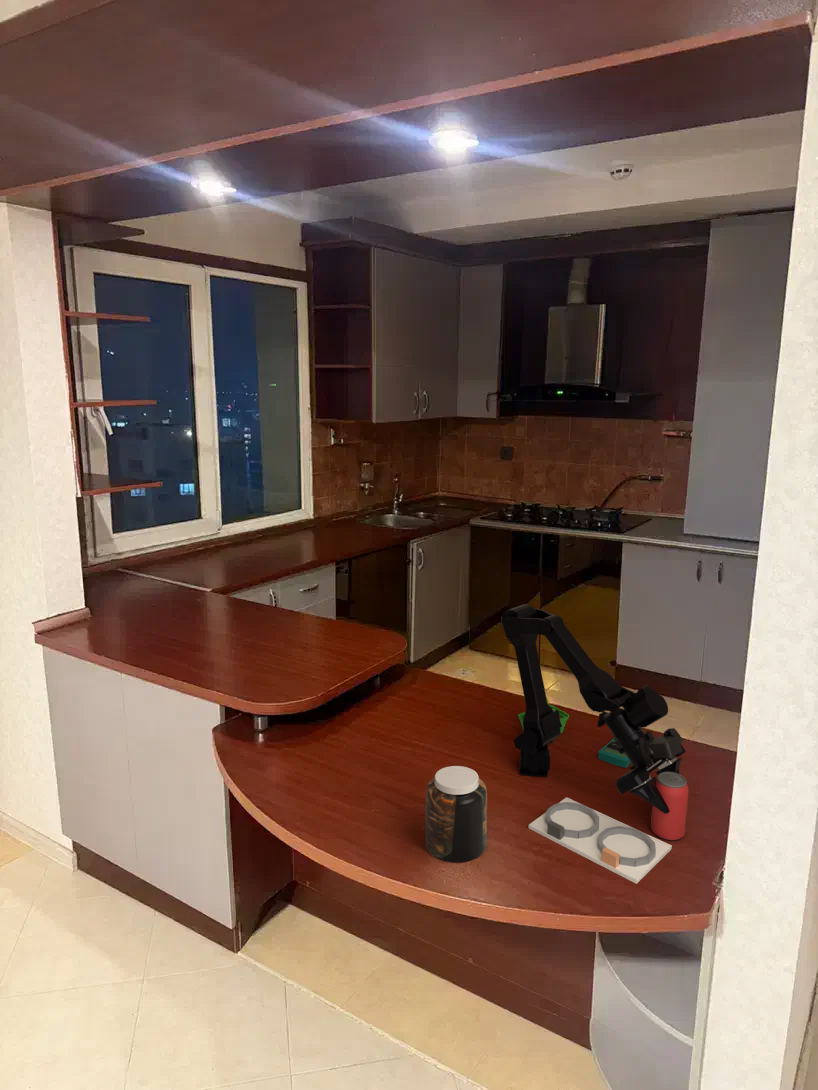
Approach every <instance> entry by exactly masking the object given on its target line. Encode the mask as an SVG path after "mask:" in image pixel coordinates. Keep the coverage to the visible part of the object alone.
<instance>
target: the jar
mask: <svg viewBox="0 0 818 1090" xmlns="http://www.w3.org/2000/svg"><path fill="white" fill-rule="evenodd" d="M434 774H435V775H434V777H433V778H432V779H430V781H429V782H428V783H427V786H426V791H425V848H426V850H427V851H428V852H429V854H430V855H431V856H432V857H434V858H435V859H438V860H440V861H443V862H446V863H447V862H449V863H456V864H457V863H460V864H461V863H466V862H471V861H473V860H476V859H478V858H479V857H480V856H482V855H483V854H484V852H485V851H486V847H487V833H488V831H487V829H488V791H487V785H486V784H485V782H484V781H483V780H482V779H481V778H479V775H478V773H477V772H476V771H475V770H474V769H472V768H469V767H467V766H462V765H452V766H445V767H443V768H441V769H439V770H437V772H436V773H434Z"/></svg>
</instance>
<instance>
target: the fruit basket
mask: <svg viewBox="0 0 818 1090" xmlns="http://www.w3.org/2000/svg"><path fill="white" fill-rule="evenodd" d="M546 698H547V703H548V705H549V706H550V707H551V708H552V709H553V710H558V711H559V718H560V722H561V724H562V727H561V728H560V729H561V731H560V734H562V733H563V732H564V729H565V726H566V724H567V721H568V720H569V717H570V714H568V713H567V712H565V711H564V710H561V709H559V708H558V707H556V706H554V705H553V704H550V700H549V698H548V697H547V696H546ZM524 715H525V711H524V712H520V713H519V714H518V715H517V716H518V719H519V720H520V724H521V729H522V730H523V719H524Z"/></svg>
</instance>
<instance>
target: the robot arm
mask: <svg viewBox="0 0 818 1090" xmlns="http://www.w3.org/2000/svg"><path fill="white" fill-rule="evenodd" d="M500 620H501V625H502V626H501V627H502V628H503V631H504V635H505V637H506V639H507V640H508V641H509V642H510V643H511V645H512V646H513V647H514V651H515V656H516V661H517V662H516V663H517V667H518V671H519V677H520V678H519V679H520V683H521V687H522V692H523V696H524V702H525V711H524V712H525V715H524V719H523V729H522V731H523V732H522V733H521V734H520V735H518V736H516V737H515V738H513V744H514V748H515V749H517V750H519V751H520V755H519V757H520V758H519V763H518V764H519V766H518V767H519V768H518V774H519V775H520V776H527V777H528V776H529V777H539V778H540V777H542V778H547V777H548V772H549V771H550V768H551V750H550V749H549V744H553V742H554V741H555V739H557V738H558V737H559V736H560V734H561V733H560V731H561V729H560V728H561V727H562V724H561V722H560V718H559V711H558V710H553V709H552V708H551V707H550V706H549V705H550V704H549V705H548V703H547V698H548V697H547V694H546V689H545V683H544V679H543V674H542V668H541V664H540V663H541V662H540V657H539V652H538V648H537V639H538V635H539V636H544V637H545V638H546V639H547V641H548V642H549V644H550V645H551V646H552V648H553V649H554V650H555V652H556V653H557V654H558V656H559V657H560V659H561V660H562V661H563V662H564V664H565V665H566V666H567V668H568V669H569V670H570V672H571V673H572V674H573V675H574V677H575V680H576V681H577V684H578V689H579V693H580V695H581V697H582V699H583V701H584V702H585V704H586V705H587V707H588V709H590V710H591V711H593V712H595V713H596V712H597V713H599V714H598V721H597V724H596V726H597V727H598V728H601V727H603V726H605V725H606V727H608V729H609V730H610V732H611V733H612V735H613V737H614V738H616V740H617V741H618V743H619V742H620V743H619V744H620V746H621V747H622V748H620V749H618V751H619V752H620V754H622V753H624V752H625V754H626V755H627V757H628V758H629V760H630V761H631V763H630V764H631V766H630V767H629V769H630V771H628V772H626V773H624V774H622V775H621V776H620V777H618V778H617V779H616V780H615V787H616V789H617V791H618V792H619V793H620V795H623V794H625V793H627V792H628V793H629V794H630V795H631V794H634V795H636V796H637V797H639V798H641V799H642V800H644V801H645V802H648V804H650V805H653V806H655V807H656V808H657V809H659V810H660V811H662V812H663V813H665V814H667V813H669V812H670V810H669V808H668V806H667V804H666V802H665V801H664V799H663V797H662V795H661V794H660V792H659V790H658V789H657V787H656V780H657V776H658V775H659V774H660V773H662V772H674V773H677V774H680V775H681V773H680V766H681V762H682V761H683V758H682V757H681V756H683V754H684V753H687V751H686V749H685V748H684V746H683V745H682V742H683V741H684V739H683V737H682V736H681V734H680V733H679V732H678V731H677V730H676V728H674V727H671V728H667V729H665V730H664V732H663V734H662V735H660V736H657V737H656V736H655V735H654V734H653V733H652V732H650V731H647V732H645V731H644V728H647V727H648V726H650V725H652V724H654V723H655V722H657V721H659V720H661V719H662V718H664V717H666V716H667V715H668V713H669V707H668V706H669V705H668V702H667V700H666V699H665V698H664V697H663V695H660V693H659V692H657V691H655V690H653V689H652V690H651V688H650V687H649V686H648V685H645V686H643V687H642V688H640V689H638V690H637V691H636V692H634V691H632V690H630V689H629V688H626V687H624V686H622V685H620V684H619V682H618V681H617V680H616V679H615V678H614V677H613V676H612V675H611V674H610V673H608V672H607V671H605V670H603V669H602V668H599V667H598V666H597V665H596V664H595V663H594V661H593V660H592V659H591V658H590V656H589V654H587V653H586V650H585V649H583V647H581V645H580V643H579V642H578V641H577V639H576V638H575V637H574V636H573V634H572V633H571V632H570V630H569V629H568V627H567V626H566V625H565V623H564V620H563V618H562V617H561V616H560V615H557V614H554V613H550V612H548V611H546V610H545V609H540V608H534V607H533V606H532V605H530V604H528V603H524V604H520V605H518V606H516V607H513V608H510V609H507V610H505V611H504V612H503V614H502V615H501V618H500ZM546 697H547V698H546ZM679 757H680V758H679ZM657 768H658V770H657ZM655 770H656V771H655ZM653 771H655V774H656V775H657V776H654V777H651V775H650V774H651V773H652V772H653Z"/></svg>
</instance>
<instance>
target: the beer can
mask: <svg viewBox="0 0 818 1090" xmlns="http://www.w3.org/2000/svg"><path fill="white" fill-rule="evenodd" d="M687 781H688V780H687V779H686V778H685V777H684V776H683V775H681V773H680V774H677V773H674V772H662V773H660V774H659V775H657V776H656V787H657V789H658V790H659V792H660V794H661V795H662V797H663V799H664V801H665V802H666V804H667V806H668V808H669V810H670V812H669V813H667V814H665V813H663V812H662V811H660V810H659V809H657V808H656V807H655V806H653V805H652V804H651V805H652V808H651V819H650V828H651V831H652V832H653V833H654V835H656V836H657V837H659V838H661V839H664V840H668V841H675V840H679V839H680V840H681V839H682V838H683V836H684V835H686V833H685V831H686V824H687V823H686V822H687V821H686V820H687V813H688V803H689V787H688V784H687V783H688V782H687Z"/></svg>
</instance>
